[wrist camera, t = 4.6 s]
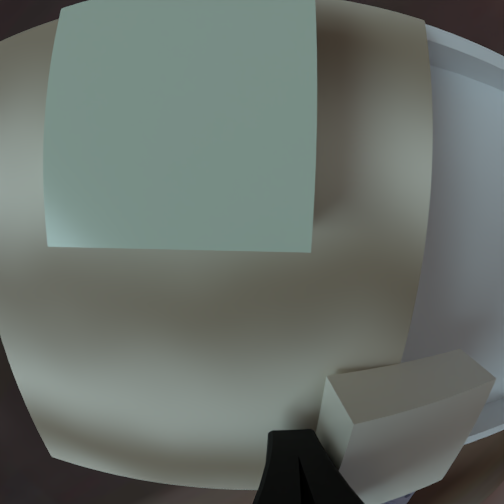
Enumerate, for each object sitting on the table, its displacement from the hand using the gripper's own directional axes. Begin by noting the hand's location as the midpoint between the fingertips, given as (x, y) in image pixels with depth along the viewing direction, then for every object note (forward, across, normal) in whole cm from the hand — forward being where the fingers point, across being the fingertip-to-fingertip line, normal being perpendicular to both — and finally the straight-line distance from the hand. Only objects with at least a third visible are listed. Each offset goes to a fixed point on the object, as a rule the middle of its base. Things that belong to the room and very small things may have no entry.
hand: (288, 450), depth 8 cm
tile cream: (+1, -3, 0) cm, 3 cm away
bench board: (+4, +3, -4) cm, 7 cm away
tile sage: (+1, +3, -9) cm, 9 cm away
